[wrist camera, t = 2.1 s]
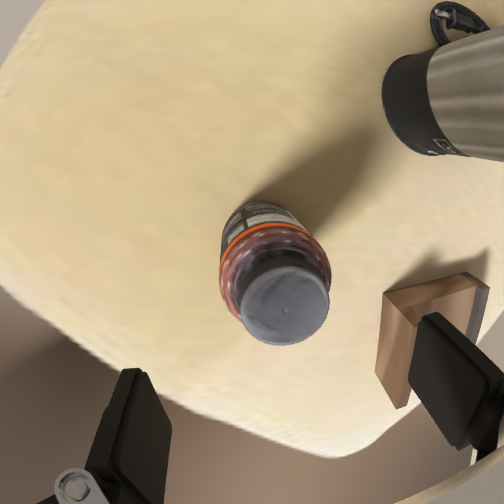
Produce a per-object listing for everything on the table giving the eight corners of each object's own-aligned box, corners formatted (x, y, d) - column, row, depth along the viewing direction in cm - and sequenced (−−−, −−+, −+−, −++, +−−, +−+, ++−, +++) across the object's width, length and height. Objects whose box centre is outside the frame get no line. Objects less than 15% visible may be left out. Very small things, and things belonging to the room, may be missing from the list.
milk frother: (385, 157, 22) (533, 186, 8) (352, -13, 17) (444, -102, 3) (493, 155, 22) (607, 182, 8) (468, 15, 17) (567, -13, 3)
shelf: (470, 271, 26) (505, 294, 21) (454, 344, 30) (480, 373, 24) (382, 293, 26) (414, 327, 20) (374, 372, 29) (396, 409, 24)
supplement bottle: (285, 280, 25) (321, 371, 14) (214, 263, 24) (203, 352, 13) (308, 210, 23) (370, 265, 12) (233, 189, 22) (235, 229, 11)
